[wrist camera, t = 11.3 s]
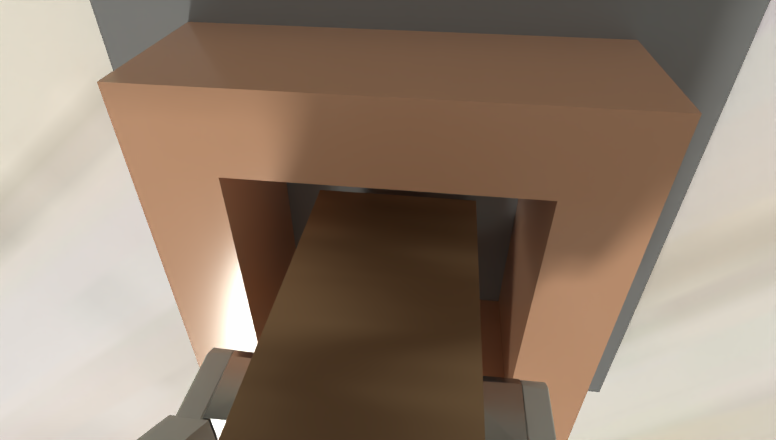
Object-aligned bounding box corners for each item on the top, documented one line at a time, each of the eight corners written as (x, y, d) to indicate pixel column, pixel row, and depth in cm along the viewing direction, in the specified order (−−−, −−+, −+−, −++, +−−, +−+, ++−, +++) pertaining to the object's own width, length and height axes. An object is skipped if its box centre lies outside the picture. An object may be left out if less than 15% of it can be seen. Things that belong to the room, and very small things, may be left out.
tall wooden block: (476, 200, 13) (493, 665, 6) (461, 310, 15) (460, 732, 8) (320, 189, 13) (146, 613, 6) (330, 298, 15) (216, 691, 8)
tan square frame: (781, -89, 11) (965, -47, 7) (594, 370, 20) (625, 498, 16) (83, -100, 12) (-97, -71, 8) (216, 332, 22) (162, 441, 18)
